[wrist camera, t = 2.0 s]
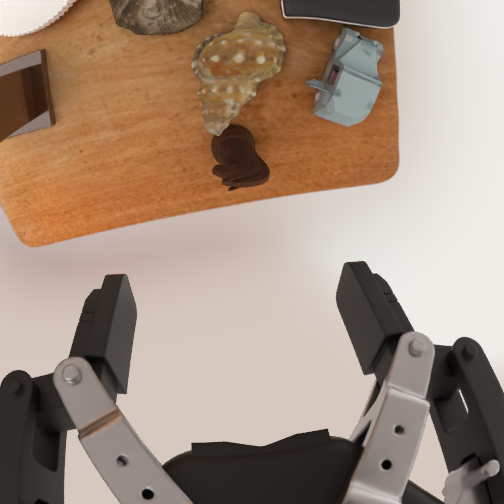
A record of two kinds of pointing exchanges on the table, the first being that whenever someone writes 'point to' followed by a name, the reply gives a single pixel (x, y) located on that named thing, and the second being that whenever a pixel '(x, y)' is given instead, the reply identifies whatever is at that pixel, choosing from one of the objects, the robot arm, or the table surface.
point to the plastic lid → (29, 15)
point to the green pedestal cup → (25, 95)
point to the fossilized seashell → (156, 15)
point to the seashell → (235, 68)
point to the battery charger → (345, 11)
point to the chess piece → (238, 159)
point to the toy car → (349, 80)
